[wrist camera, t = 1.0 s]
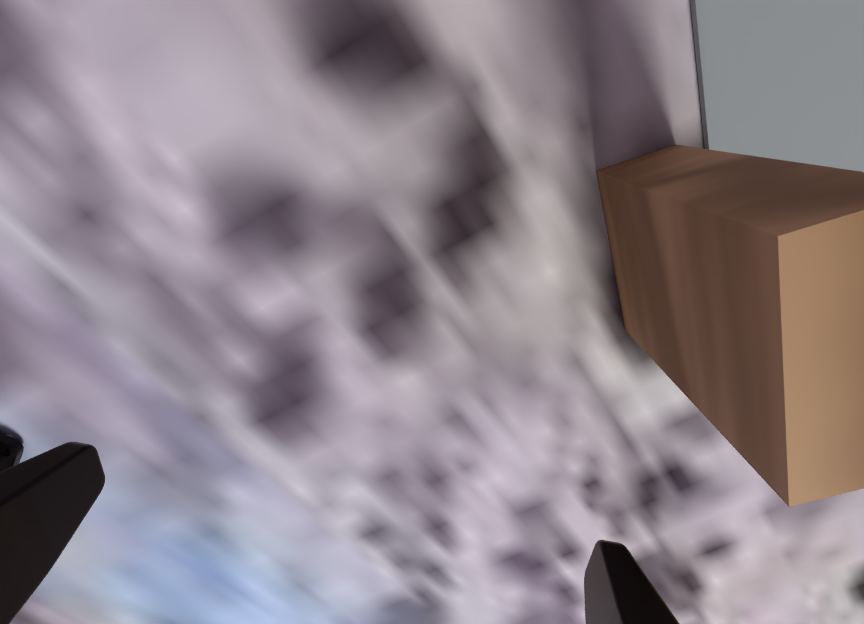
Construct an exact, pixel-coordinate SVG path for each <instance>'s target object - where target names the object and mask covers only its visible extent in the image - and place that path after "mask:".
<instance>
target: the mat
mask: <svg viewBox="0 0 864 624" xmlns="http://www.w3.org/2000/svg"><path fill="white" fill-rule="evenodd" d="M690 2H691V12H692V23H693V33H694V43H695V54H696V64H697V74H698V85H699V95H700V105H701V116H702V126H703V136H704V147H705V149H709V150H716V151H723V152H730V153H737V154H744V155H751V156H757V157H764V158H771V159H778V160H785V161H792V162H799V163H806V164H813V165H819V166H826V167H833V168H840V169H847V170H854V171H861V172H864V0H690Z"/></svg>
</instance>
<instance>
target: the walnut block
mask: <svg viewBox="0 0 864 624" xmlns="http://www.w3.org/2000/svg"><path fill="white" fill-rule="evenodd" d="M596 174H597V179H598V185H599V190H600V195H601V201H602V206H603V212H604V217H605V222H606V228H607V233H608V239H609V244H610V249H611V255H612V260H613V266H614V271H615V276H616V282H617V287H618V293H619V298H620V303H621V309H622V314H623V320H624V325H625V330H626V331H627V332H628V333H629V335H630V336H631V337H632V338H633V339H634V340H635V341H636V342H637V343H638V344H639V345H640V346H641V348H642V349H643V350H644V351H645V352H646V353H647V354H648V355H649V356H650V357H651V358H652V359H653V360H654V362H655V363H656V364H657V365H658V366H659V367H660V368H661V369H662V370H663V371H664V372H665V373H666V374H667V376H668V377H669V378H670V379H671V380H672V381H673V382H674V383H675V384H676V385H677V386H678V387H679V389H680V390H681V391H682V392H683V393H684V394H685V395H686V396H687V397H688V398H689V399H690V400H691V401H692V403H693V404H694V405H695V406H696V407H697V408H698V409H699V410H700V411H701V412H702V413H703V414H704V416H705V417H706V418H707V419H708V420H709V421H710V422H711V423H712V424H713V425H714V426H715V427H716V428H717V430H718V431H719V432H720V433H721V434H722V435H723V436H724V437H725V438H726V439H727V440H728V441H729V443H730V444H731V445H732V446H733V447H734V448H735V449H736V450H737V451H738V452H739V453H740V454H741V455H742V457H743V458H744V459H745V460H746V461H747V462H748V463H749V464H750V465H751V466H752V467H753V468H754V469H755V471H756V472H757V473H758V474H759V475H760V476H761V477H762V478H763V479H764V480H765V481H766V482H767V484H768V485H769V486H770V487H771V488H772V489H773V490H774V491H775V492H776V493H777V494H778V495H779V496H780V498H781V499H782V500H783V501H784V502H785V503H786V504H787V505H788V506H789V507H790V506H794V505H798V504H802V503H806V502H810V501H814V500H818V499H822V498H827V497H831V496H835V495H839V494H843V493H847V492H851V491H855V490H859V489H863V488H864V172H861V171H854V170H847V169H840V168H833V167H826V166H819V165H813V164H806V163H799V162H792V161H785V160H778V159H771V158H764V157H757V156H751V155H744V154H737V153H730V152H723V151H716V150H709V149H702V148H695V147H688V146H682V145H673V146H670V147H667V148H664V149H661V150H658V151H655V152H652V153H649V154H646V155H643V156H640V157H637V158H634V159H631V160H628V161H624V162H621V163H618V164H615V165H612V166H609V167H606V168H603V169H600V170H597V171H596Z"/></svg>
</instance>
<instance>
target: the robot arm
mask: <svg viewBox="0 0 864 624" xmlns="http://www.w3.org/2000/svg"><path fill="white" fill-rule="evenodd" d="M23 448H24V447H23V445H22V443H21V442H20V441H19V440H17V439H15V438H13V437H10V436H7V435H5V434H2V433H0V624H10V622H11V621H12V620H13V618H14V617H15V616H16V614H17V613H18V612H19V611H20V609H21V608H22V607H23V605H24V604H25V603H26V601H27V600H28V599H29V598H30V596H31V595H32V594H33V592H34V591H35V590H36V589H37V587H38V586H39V585H40V583H41V582H42V581H43V579H44V578H45V576H46V575H47V574H48V572H49V571H50V569H51V568H52V566H53V565H54V564H55V562H56V561H57V559H58V558H59V556H60V555H61V553H62V551H63V550H64V548H65V547H66V545H67V544H68V542H69V541H70V539H71V538H72V536H73V534H74V533H75V531H76V530H77V528H78V527H79V525H80V524H81V522H82V520H83V519H84V517H85V516H86V514H87V513H88V511H89V510H90V508H91V507H92V505H93V503H94V502H95V500H96V499H97V497H98V496H99V494H100V493H101V491H102V489H103V486H104V483H105V475H104V472H103V468H102V465H101V462H100V459H99V455H98V452H97V450H96V448H95V447H94V446H92V445H89V444H84V443H79V442H68V443H65V444H63V445H60V446H58V447H56V448H54V449H51V450H49V451H47V452H44V453H42V454H40V455H38V456H35V457H33V458H31V459H29V460H26V461H24V462H22V463H19V462H20V459H21V456H22V453H23ZM584 593H585V617H586V624H679V623H678V621H677V620H676V618H675V617H674V615H673V614H672V613H671V611H670V610H669V608H668V607H667V605H666V604H665V602H664V601H663V600H662V598H661V597H660V595H659V594H658V592H657V591H656V589H655V588H654V587H653V585H652V584H651V582H650V581H649V579H648V578H647V576H646V575H645V574H644V572H643V571H642V569H641V568H640V566H639V565H638V563H637V562H636V561H635V559H634V558H633V556H632V555H631V553H630V552H629V550H628V549H627V548H626V547H625V546H624V545H623V544H621V543H617V542H611V541H606V540H599V541H598V542H597V543H596V544H595V547H594V549H593V552H592V555H591V557H590V560H589V563H588V565H587V568H586V571H585V577H584Z"/></svg>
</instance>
